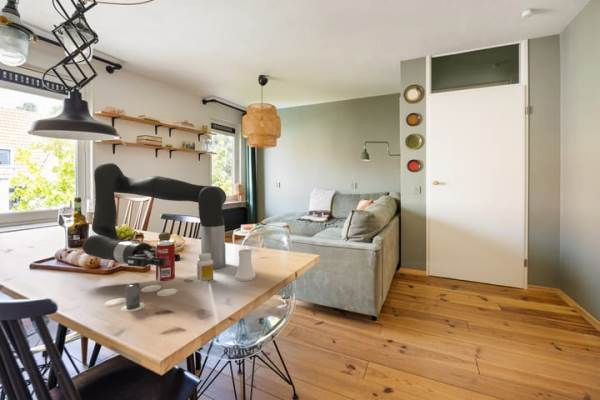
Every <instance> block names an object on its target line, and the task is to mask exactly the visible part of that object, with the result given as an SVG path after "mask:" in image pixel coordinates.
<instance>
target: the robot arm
mask: <svg viewBox="0 0 600 400" xmlns="http://www.w3.org/2000/svg"><path fill="white" fill-rule="evenodd" d="M93 176H94V179H93V180H94V187H95V188H94V189H95V190H94V192H95V193H94V196H95V198H94V210H93V218H92V223H91V229H92V231H93V233H95V234H93V235H90V236H88V237H87V238H85V240H84V241H83V242H82V251H83V252H84V253H85V254H86V255H88V256H91V257H94V258H99V259H103V260H110V261H113V262H118V263H121V264H123V265H127V266H129V267H136V268H137V267H138V268H139V267H141V268H146V267H148V266H150V267H153V266H155V267H156V266H161V267H162V266H164V265H165V260H164V259H163V258H157V257H156V248H153V247H152V246H151V245H150V244H149V243H146V242H141V241H137V240H136V241H135V240H124V239H119V236H118V232H117V228H116V225H117V217H118V216H117V215H118V214H117V204H116V199H115V193H117V194H126V195H127V194H128V195H136V196H140V197H148V198H153V199H158V200H162V201H163V200H164V201H170V202H192V203H197V204H198V218H199V220H200V231H201V232H200V238H201V239H200V243H201V245H200V246H201V247H200V248H201V249H200V250H201V254H202V253H210V254H211V258H210V259H211V260H213V270H217V269H221V268H225V267H226V266H227V264H226V263H227V262H226V243H225V242H226V241H225V235H226V234H225V233H226V232H225V218H224V216H223V205H224V204H225V203H226V201H227V193H226V192H225V191H224V189H223V188H221V187H219V186H215V185H212V186H211V185H203V184H202V185H201V184H199V185H198V184H193V183H190V182H188V181H182V180H179V179H176V178H171V177H165V176H161V175H153V176H149V177H145V178H141V179H140V178H139V179H138V178H134V177H133V178H132V177H129V176H126V175H125V174H124V172H123V171H122V170H121V168H120V167H119V166H118V165H117V164H116V163H113V162H109V161H108V162H103V163H101V164H99V165H97V166H96V167H95V169H94V174H93ZM180 261H181V254H180V253H175V263H176V262H177V263H178V262H180Z"/></svg>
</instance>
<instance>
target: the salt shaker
mask: <svg viewBox="0 0 600 400" xmlns="http://www.w3.org/2000/svg"><path fill="white" fill-rule="evenodd" d="M252 251H253V250H252V249H250V248H249V249H247V248H246V249H245V248H244V249H239V250H238V258H239V259H238V267H237V270H236V273H235V275H234V279H235V280H237V281H240V282H241V281H242V282H245V281H247V282H248V281H252V280H255V279H256V276H257V275H256V273H255V270H254V268H253V262H252V253H253V252H252Z"/></svg>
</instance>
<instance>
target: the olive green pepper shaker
mask: <svg viewBox="0 0 600 400" xmlns="http://www.w3.org/2000/svg"><path fill="white" fill-rule="evenodd" d="M171 238H172V234H171V233H170V232H161V233H159V234H158V239H159V241H164V240H171Z"/></svg>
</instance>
